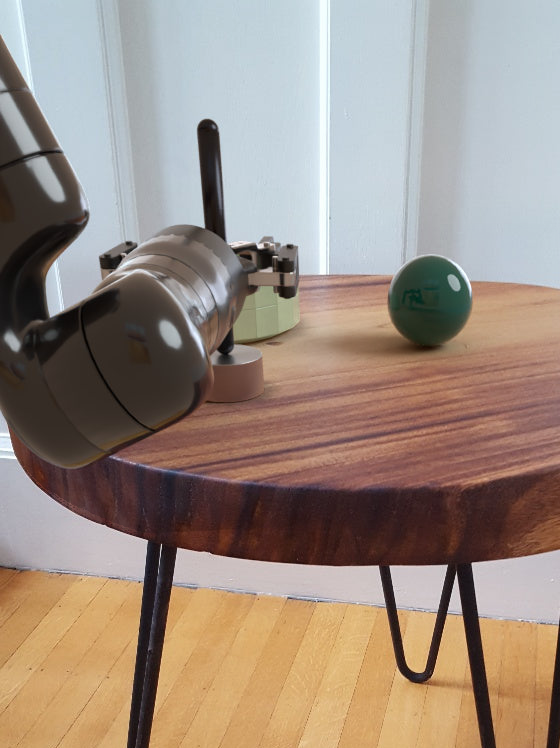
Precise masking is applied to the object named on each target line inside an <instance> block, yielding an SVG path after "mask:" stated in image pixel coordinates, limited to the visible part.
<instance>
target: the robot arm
mask: <svg viewBox="0 0 560 748" xmlns="http://www.w3.org/2000/svg"><path fill="white" fill-rule="evenodd" d="M90 216H91V207H90V203H89V199H88V196H87V194H86V192H85V189H84V187H83V185H82V183H81V181H80V179H79V177H78V175H77V173H76V171H75V169H74V168H73V165H72V163H71V162H70V160H69V158H68V156H67V155H66V154H65V151H64V149H63V147H62V145H61V143H60V141H59V140H58V137H57V136H56V134H55V132H54V130H53V128H52V126H51V125H50V122H49V121H48V119H47V117H46V116H45V114H44V112H43V110H42V107H41V106H40V104H39V103H38V100H37V98H36V96H35V95H34V94H33V90H32V89H31V87H30V85H29V84H28V82H27V79H26V78H25V77H24V75H23V73H22V71H21V68H20V67H19V65H18V63H17V62H16V60H15V58H14V56H13V54H12V53H11V51H10V49H9V47H8V44H7V42H6V40H5V38H4V36H3V35H2V33H1V32H0V413H1V414H2V417H3V418H4V420H5V422H6V424H7V425H8V426H9V428H10V430H11V431H12V432H13V433H14V435H15V437H17V439H18V440H19V441H20V442H21V443H22V444H23V445H24V446H25V447H26V448H27V449H28V450H29V451H30V452H32V453H33V454H34V455H35V456H37V457H39V458H40V459H41V460H43V461H45V462H47V463H49V464H51V465H53V466H55V467H58V468H63V469H66V470H81V469H84V468H87V467H90V466H93V465H95V464H98V463H99V462H101V461H104V460H106V459H108V458H109V457H111V456H113V455H115V454H117V453H119V452H121V451H123V450H125V449H127V448H129V447H131V446H133V445H135V444H137V443H139V442H142V441H144V440H145V439H147V438H150V437H151V436H154V435H156V434H158V433H160V432H162V431H164V430H166V429H168V428H170V427H172V426H174V425H176V424H178V423H180V422H182V421H184V420H185V419H187V418H188V417H190V416H191V415H193V414H194V413H195V412H197V410H199V409H200V408H201V407H202V406H203V405H204V404H205V403H206V402H207V401H206V400H207V399H208V398H209V396H210V394H211V392H212V390H213V386H214V373H213V366H212V361H211V358H210V356H211V355H212V354H213V353H214V352H215V351H216V350H217V348H218V347H219V346H220V344H221V343H222V341H223V340H224V338H225V337H226V335H227V334H228V332H229V331H230V329H231V328H232V326H233V325H234V323H235V322H236V320H237V318H238V317H239V315H240V313H241V311H242V308H243V305H244V302H245V299H246V296H249V295H252V294H254V293H256V292H258V291H259V289H260V286H273V292H274V293H279V297H282V298H284V299H291V298H292V297H295V296H296V293H297V289H298V284H299V285H300V262H299V259H300V258H299V246H298V245H294V243H287V244H286V245H282V243H280V242H279V241H277V242H275V240H274V236H271V235H270V236H269V235H264V236H262V238H261V239H260V241H259V242H258V243H256V242H253V241H245V240H239V241H235V242H230V243H228V242H227V243H226V242H225V241H224V240H222V239H221V238H220V237H219V236H217V235H216V234H214V233H213V232H211V231H209V230H207V229H205V227H201V226H198V225H194V224H183V223H182V224H174V225H170V226H167V227H165V228H161V229H160V230H159V231H156V233H154V234H152V235H151V236H150V237H149V238H147V239H146V240H145V241H143V242H142V243H141V244H138V242H134V241H132V240H125V241H124V242H121V243H119V244H117V245H115V246H114V247H112V248H111V249H109V250H107V251H105V252H104V253H102V254H100V255H99V256H98V261H99V267H100V268H99V270H100V277H101V281H100V282H99V284H98V285H96V287H95V289H94V290H93V291H92V292H91V294H89V296H87V297H85V298H83V299H81V300H80V301H78V302H76V303H74V304H73V305H70V306H69V307H67V308H65V309H63V310H61V311H60V312H58V313H56V314H54V315H52V316H50V315H51V314H50V312H49V306H48V298H47V286H46V285H47V284H46V282H47V275H48V273H49V271H50V269H51V267H52V266H53V264H54V263H55V262H56V260H57V259H58V258H59V257H61V255H62V254H63V253H64V252H65V251H66V250H67V249H68V248H69V247H70V246H71V245H72V244H73V243H74V242H75V241H76V240H77V239H78V238H79V236H81V234H82V233H83V232H84V230H85V229H86V227H87V226H88V224H89V221H90ZM237 254H239V256H237Z"/></svg>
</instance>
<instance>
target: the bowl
mask: <svg viewBox="0 0 560 748" xmlns="http://www.w3.org/2000/svg"><path fill="white" fill-rule="evenodd" d="M237 256H239V254H237ZM300 307H301V306H300V283H299V284H298V289H297V293H296V296H295V297H292V298H291V299H284V298H282V297H279V293H274V292H273V286H260V289H259V291H258V292H256V293H254V294H252V295H249V296H246V299H245V302H244V305H243V308H242V311H241V313H240V315H239V317H238V318H237V320H236V322H235V323H234V325H233V332H234V344H236V345H241V344H247V343H254V342H259V341H263V340H266V339H270V338H273V337H276V336H278V335H280V334H282V333H283V332H286V331H288V330H291V329H292V328H294V327H295V326H297V324H298V323H300V322H301V311H300V310H301V309H300Z"/></svg>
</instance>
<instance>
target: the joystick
mask: <svg viewBox="0 0 560 748" xmlns="http://www.w3.org/2000/svg"><path fill="white" fill-rule="evenodd" d="M196 139H197V151H198V162H199V174H200V175H199V177H200V187H201V199H202V212H203V222H204V228H205V229H207V230H209V231H211V232H213V233H214V234H216V235H217V236H219V237H220V238H221V239H222V240H224V241H225V242H226V243H227V244H228V234H227V219H226V205H225V192H224V191H225V190H224V178H223V177H224V176H223V163H222V149H221V135H220V127H219V125H218V124H217V122H216V121H215V120H213V119H211V118H203V119H201V120H200V121H199V122H198V124H197V125H196ZM263 357H264V356H263V352H262V351H261V350H260V349H259V348H257V347H253V346H249V345H244V344H234V332H233V326H232V328H231V329H230V331H229V332H228V334H227V335H226V337H225V338H224V340H223V341H222V343H221V344H220V346H219V347H218V348H217V350H216V351H215V352H214V353H213V354H212V355H211V356H210V358H211V361H212V366H213V373H214V386H213V390H212V392H211V394H210V396H209V398H208V399H207V400H206V401H205V402H212V403H213V402H214V403H236V402H243V401H248V400H252V399H255V398H258V397H259V396H261V395H262V394H263V393H264V392H265V378H264V377H265V375H264V362H263V361H264V360H263Z"/></svg>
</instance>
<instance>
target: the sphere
mask: <svg viewBox="0 0 560 748" xmlns="http://www.w3.org/2000/svg"><path fill="white" fill-rule="evenodd" d="M473 305H474V296H473V290H472V285H471V282H470V279H469V277H468V275H467V274H466V272H465V270H463V268H462V267H461V266H460V265H459V264H458V263H457V262H455V261H454V260H452V259H451V258H449V257H446V256H444V255H440V254H433V253H432V254H431V253H430V254H421V255H418V256H416V257H413V258H412V259H409V260H408V261H407V262H405V263H404V264H403V265H402V266H400V268H399V269H398V270H397V271H396V272H395V274H394V275H393V277H392V279H391V282H390V284H389V287H388V292H387V312H388V316H389V319H390V322H391V324H392V325H393V327H394V329H395V330H396V331H397V332H398V333H399V334H400V335H401V336H402V337H403V338H404V339H405V340H407V341H409V342H410V343H412V344H415V345H417V346H422V347H437V346H438V347H439V346H441V345H444V344H447V343H448V342H450V341H452V340H453V339H455V338H456V337H457V336H458V335H459V334H461V332H462V331H463V330H464V329H465V327H466V326H467V324H468V322H469V320H470V318H471V315H472V311H473Z"/></svg>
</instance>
